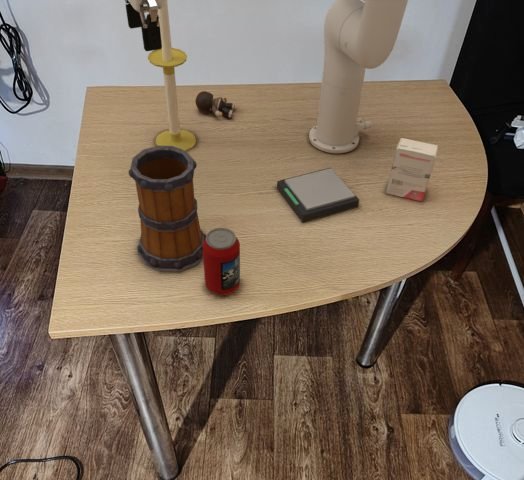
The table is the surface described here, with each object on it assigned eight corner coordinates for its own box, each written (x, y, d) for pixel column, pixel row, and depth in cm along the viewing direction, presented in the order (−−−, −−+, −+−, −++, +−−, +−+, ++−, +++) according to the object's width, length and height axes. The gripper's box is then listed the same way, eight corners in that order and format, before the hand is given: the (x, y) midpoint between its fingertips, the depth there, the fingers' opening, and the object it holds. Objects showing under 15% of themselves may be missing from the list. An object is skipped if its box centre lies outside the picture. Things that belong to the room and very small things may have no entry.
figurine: (234, 110, 149) (197, 99, 148) (237, 93, 145) (200, 81, 144) (228, 127, 144) (191, 116, 143) (232, 110, 140) (193, 98, 139)
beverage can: (235, 300, 105) (235, 253, 96) (201, 294, 106) (197, 247, 96) (243, 275, 109) (243, 228, 100) (210, 270, 110) (207, 222, 100)
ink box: (425, 190, 128) (440, 144, 119) (422, 202, 125) (437, 156, 116) (388, 181, 129) (400, 135, 120) (384, 194, 127) (396, 147, 117)
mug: (129, 216, 119) (112, 130, 103) (195, 206, 122) (189, 121, 106) (143, 278, 108) (126, 193, 92) (215, 266, 110) (211, 181, 95)
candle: (162, 127, 140) (142, -46, 110) (200, 133, 139) (190, -41, 109) (150, 149, 134) (124, -28, 104) (189, 155, 133) (175, -22, 103)
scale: (329, 174, 130) (331, 165, 128) (358, 207, 123) (360, 197, 121) (276, 188, 126) (277, 178, 124) (302, 222, 119) (303, 213, 117)
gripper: (170, -60, 85) (180, 55, 98) (137, -93, 94) (150, 16, 108) (122, -55, 83) (139, 62, 96) (94, -89, 92) (112, 21, 106)
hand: (145, 38), depth 102 cm, fingers open, 9 cm apart
